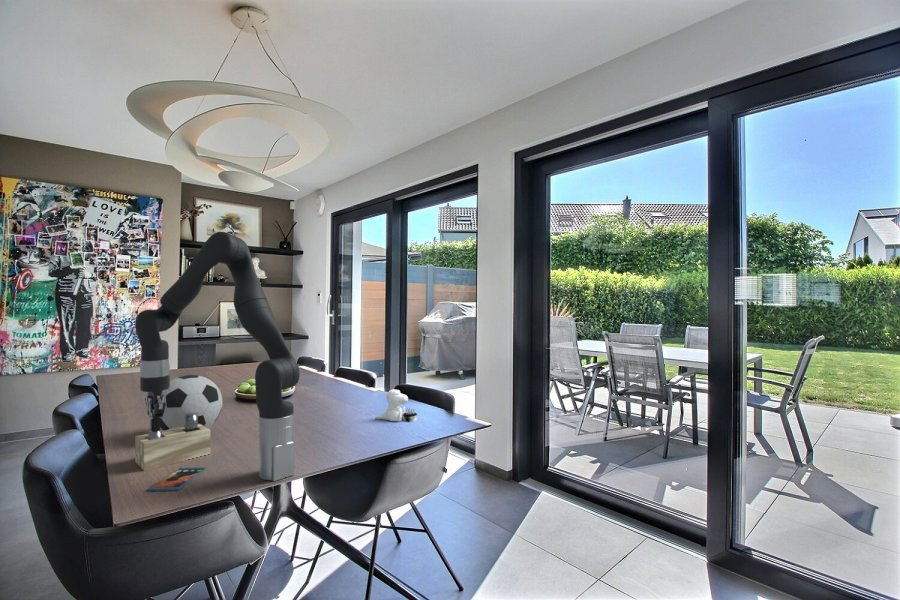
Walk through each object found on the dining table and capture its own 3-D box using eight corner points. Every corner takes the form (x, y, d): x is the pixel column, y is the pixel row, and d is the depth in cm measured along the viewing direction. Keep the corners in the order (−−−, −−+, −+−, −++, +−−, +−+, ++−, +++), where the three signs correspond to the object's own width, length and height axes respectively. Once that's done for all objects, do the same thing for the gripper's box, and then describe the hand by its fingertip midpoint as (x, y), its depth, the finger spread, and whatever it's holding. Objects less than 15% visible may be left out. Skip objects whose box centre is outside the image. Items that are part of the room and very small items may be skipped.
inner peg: (199, 435, 141) (199, 413, 141) (187, 438, 138) (186, 416, 138) (195, 433, 144) (195, 411, 143) (183, 435, 141) (183, 414, 141)
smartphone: (207, 467, 129) (178, 488, 114) (207, 471, 129) (178, 493, 114) (179, 466, 129) (146, 487, 114) (179, 471, 129) (146, 492, 114)
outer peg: (163, 453, 134) (163, 430, 134) (150, 456, 131) (149, 433, 131) (160, 450, 136) (160, 428, 136) (146, 453, 133) (146, 430, 133)
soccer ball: (191, 447, 147) (191, 382, 147) (137, 442, 152) (136, 379, 151) (235, 428, 169) (235, 371, 169) (187, 424, 173) (186, 369, 173)
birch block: (210, 454, 141) (210, 429, 141) (144, 470, 127) (144, 443, 127) (199, 447, 147) (199, 423, 147) (135, 462, 134) (135, 436, 134)
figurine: (414, 423, 176) (414, 392, 176) (372, 421, 179) (372, 390, 178) (419, 417, 184) (419, 388, 184) (378, 415, 187) (378, 386, 187)
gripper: (175, 375, 132) (175, 432, 132) (162, 370, 141) (163, 423, 141) (146, 378, 126) (146, 438, 126) (134, 373, 135) (135, 428, 135)
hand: (155, 430), depth 134 cm, fingers closed
